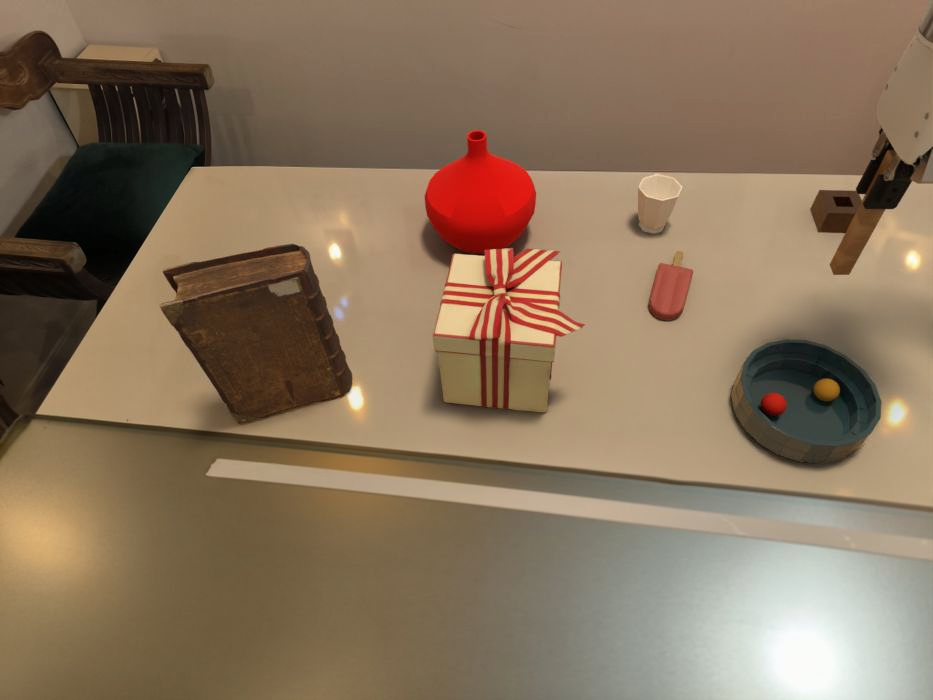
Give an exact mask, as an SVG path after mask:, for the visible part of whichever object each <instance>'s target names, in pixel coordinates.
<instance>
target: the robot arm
mask: <svg viewBox="0 0 933 700" xmlns="http://www.w3.org/2000/svg"><path fill="white" fill-rule="evenodd" d="M875 114H876V119H877V121H878V123H879V125H880V129H879V130H878V134H879V136H878V139H877V140H876V142H875V145H874V146H873V148H872V152H871V157H872V159H870V160H869V163H868V164H867V166H866V168H865V170H864V172H863V174H862V176H861V178H860V180H859V182H858V184H857V186H856V187H855V191H857V193H858V194H859V195H865V194H866V192H867V190H868V188H869V186H870V184H871V182H872V180H873V178H874V176H875V174H876V172H877V170H878V168H879V166H880V164H881V162H882V160H883V158H884V157H885V155H886V153H887V151H888V150H895V151H896V153H895V154H894V156H893V158H892V160H891V162H890V163H889V165H888V167H887V169H886V170H885V172H884V174H879V175H878V177H877V179H876V180H875V182H874V184H873V186H872V188H871V190H870V191H869V193H868V195H867V197H866V199H865V201H864V202H863V206H864V208H865V209H885V210H894V209H896V208H897V207H898V205H899V204H900V202H901V201H902V199H903V197H904V196H905V194H906V192H907V191H908V190H909V187H910V186H911V184H912V182H913V183H916V184H918V185H922V184H924V185H925V184H932V185H933V0H930V1H929V3H928V5H927V6H926V9H925V11H924V13H923V15H922V18H921V20H920V22H919V23H918V25H917V28H916V29H915V33H914V35H913V37H912V38H911V40H910V42H909V44H908V45H907V47H906V48H905V50H904V51H903V53H902V55H901V57H900V59H899V60H898V61H897V64H896V65H895V67H894V69H893V71H892V73H891V74H890V76H889V79H888V81H887V83H886V85H885V87H884V89H883V90H882V93H881V95H880V97H879V100H878V102H877V106H876V108H875ZM904 162H905V163H906V164H909V165H904V166H902V165H903V163H904Z"/></svg>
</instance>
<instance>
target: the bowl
mask: <svg viewBox="0 0 933 700" xmlns="http://www.w3.org/2000/svg"><path fill="white" fill-rule="evenodd" d="M821 379H832V380H834V381H835V382H836V383H837V384H838V385H839V387H840V393H839V396H838V397H837V398H836V399H834V400H832V401H822V400H820V399H818V398H817V397H816V396H815V394H814V391H813V388H814V385H815V383H816V382H817V381H819V380H821ZM769 393H777V394H780V395H781V396H783V397H784V399H785V400H786V404H787V406H786V410H785V411H784V412H783V413H782V414H781V415H778V416H770V415H768V414H766V413H765V412H764V411H763V410H762V408H761V400H762V398H763V397H764V396H765V395H766V394H769ZM730 397H731V402H732V407H733V412H734V414H735V416H736V417H737V420H738V421H739V424H740V425H741V426H742V428H743V430H744V431H745V432H747V433H748V434H749V435H750V436H751V438H753V439H754V441H756V442H757V443H758V444H759V445H760V446H762V447H764V448H766V449H767V450H769V451H770V452H772V453H774V454H776V455H778V456H781V457H784V458H787V459H790V460H793V461H796V462H799V463H809V464H810V463H811V464H822V465H823V464H827V463H831V462H836V461H840V460H843V459H845V458H846V457H848V456H849V455H851V454H852V453H854V452H856V451H857V450H858V448H859V447H860V446H862V444H863V443H864V442H865V441H866V440H867V439H868V438H869V436H870V435H871V434H872V433H873V432H874V430H875V428H876V427H877V425H878V423H879V422H880V420H881V418H882V403H883V402H882V399H881V396H880V393H879V390H878V388H877V385H876V383H875V382H874V380H873V379H872V378H871V377H870V375H869V374H868V373H867V372H866V370H865V369H864V368H863V367H862V366H861V365H859V364H858V363H857V361H854V360H853V359H852V358H851V357H849V356H848V355H847V354H845V353H843V352H841V351H839V350H837V349H836V348H833V347H831V346H829V345H827V344H824V343H820V342H815V341H812V340H808V339H796V338H795V339H794V338H782V339H778V340H774V341H768V342H766V343H764V344H762V345H761V346H759V347H757V348H755V349H753V350H752V351H751V353H750V354H749V355H748V357H746V358H745V360H744V361H743V363H742V365H741V367H740V369H739V371H738V374H737V375H736V377H735V379H734V383H733V387H732V391H731V396H730Z"/></svg>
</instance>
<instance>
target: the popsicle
mask: <svg viewBox="0 0 933 700" xmlns="http://www.w3.org/2000/svg"><path fill="white" fill-rule="evenodd" d="M683 256H684V252H683V251H681V250H676V252H675V255H674V258H673V262H672V263H673V264H670V263H669V264H668V263H663V262H659V263H658V266H657V270H656V273H655V277H654V281H653V283H652V284H653V285H652V289H651V293H650V298H649V302H648V308H649V311H650V313H651V314H652V316H654V317H655V318H657V319H658V320H661V321H673V320H675V319H678V318H679V317H680V316H681V315H682V313H683V311H684V308H685V306H686V302H687V298H688V294H689V290H690V287H691V283H692V280H693V273H694V269H692V268H688V267H682V266H681V264H682V261H683Z"/></svg>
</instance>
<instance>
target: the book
mask: <svg viewBox="0 0 933 700" xmlns="http://www.w3.org/2000/svg"><path fill="white" fill-rule="evenodd" d="M311 259H312V258H311V254H310V252H309V250H308V249H306V248H305V246H302V245H298V244H295V243H288V244H287V243H286V244H281V245H275V246H270V247H265V248H262V249H259V250H254V251H248V252H241V253H237V254H231V255H227V256H222V257H218V258H212V259H208V260H202V261H191V262H187V263H183V264H179V265H175V266H170V267H166V268H164V269H162V274H163V275H164V278H165V279H166V280H167V282H168V284H169V286H170V287H171V288H172V289H173V291H174V292H175V298H174V300H170V301H166V302H161V303H160V304H159V308H160V310H161V312H162V314H163V316H164V317H165V318H166V320H167V321H168V322H169V324H170V325H171V326H172V327H173V328H174V329H175V331H176V332H177V333H178V335H179V337H180V338H181V340H182V341H183V343H184V345H185V346H186V347H187V348H188V350H189V351H190V353H191V355H192V356H193V357H194V359H195V361H196V362H197V363H198V365H199V367H200V368H201V369H202V371H203V372H204V374H205V375H206V377H207V378H208V380H209V381H210V383H211V385H212V386H213V387H214V389H215V391H217V394H218V396H219V397H220V399H221V400H222V402H223V404H224V405H225V406H226V407H227V409H228V411H229V413H230V414H231V416H232V418H233V419H234V421H235V422H236V424H237V425H243V424H248V423H252V422H256V421H260V420H263V419H266V418H269V417H272V416H275V415H278V414H280V413H284V412H286V411H290V410H294V409H297V408H301V407H305V406H309V405H312V404H317V403H325V402H330V401H334V400H336V399H340V398H343V397H344V396H345V395H346V394H348V393H350V391H351V389H352V386H353V379H354V378H353V372H352V371H351V369H350V367H349V364H348V362H347V356H346V353H345V351H344V350H343V348H342V346H341V341H340V340H341V339H340V337H339V335H338V333H337V331H336V329H335V326H334V319H333V317H332V315H331V314H330V312H329V308H328V304H327V299H326V297H325V296H324V295H323V292H322V289H321V287H320V280H319V278H318V275H317V274H316V273H315V270H314V266H313V263H312V260H311Z"/></svg>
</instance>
